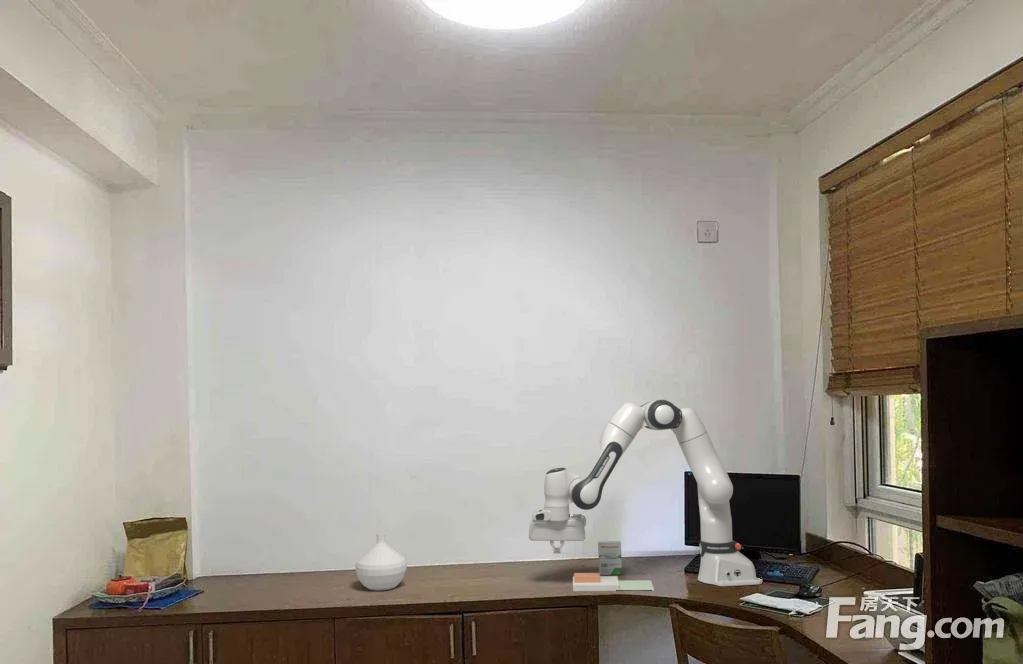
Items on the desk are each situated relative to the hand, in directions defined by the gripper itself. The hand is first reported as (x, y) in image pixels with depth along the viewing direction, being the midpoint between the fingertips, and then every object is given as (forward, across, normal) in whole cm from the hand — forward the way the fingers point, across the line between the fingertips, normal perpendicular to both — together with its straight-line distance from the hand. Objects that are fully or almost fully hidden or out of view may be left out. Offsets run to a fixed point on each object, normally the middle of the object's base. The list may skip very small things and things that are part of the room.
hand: (557, 553), depth 309 cm
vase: (+13, +64, 0) cm, 65 cm away
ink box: (+12, -20, -19) cm, 30 cm away
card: (+10, -10, 0) cm, 14 cm away
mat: (+11, -28, 0) cm, 30 cm away
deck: (+12, -14, 0) cm, 18 cm away
